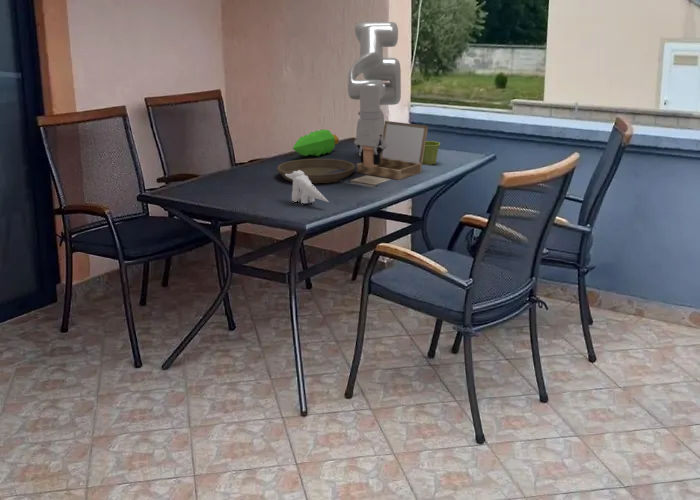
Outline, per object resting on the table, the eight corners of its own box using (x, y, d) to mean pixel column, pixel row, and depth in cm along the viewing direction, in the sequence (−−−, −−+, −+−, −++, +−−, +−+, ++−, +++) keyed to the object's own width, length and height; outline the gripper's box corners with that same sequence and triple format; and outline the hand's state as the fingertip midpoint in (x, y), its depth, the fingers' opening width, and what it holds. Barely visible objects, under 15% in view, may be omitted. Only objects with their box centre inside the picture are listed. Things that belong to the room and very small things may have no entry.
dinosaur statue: (292, 193, 320) (293, 164, 315) (336, 212, 304) (337, 181, 299) (277, 197, 315) (278, 167, 311) (321, 216, 299) (322, 185, 295)
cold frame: (356, 175, 349) (356, 163, 348) (379, 168, 360) (379, 157, 359) (399, 182, 337) (399, 170, 335) (421, 174, 348) (421, 163, 347)
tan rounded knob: (359, 166, 335) (358, 145, 332) (368, 163, 339) (368, 143, 337) (371, 168, 331) (371, 147, 329) (381, 165, 336) (381, 144, 333)
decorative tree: (339, 123, 391) (297, 131, 367) (347, 148, 392) (306, 158, 368) (320, 131, 398) (278, 139, 374) (328, 155, 399) (286, 165, 375)
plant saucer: (319, 164, 370) (318, 154, 368) (371, 176, 349) (371, 164, 347) (261, 177, 349) (261, 166, 348) (313, 190, 328) (313, 178, 327)
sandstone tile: (350, 182, 337) (350, 180, 337) (366, 177, 345) (366, 175, 344) (375, 187, 330) (375, 184, 330) (390, 181, 338) (390, 179, 337)
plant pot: (439, 161, 371) (440, 141, 368) (439, 166, 362) (440, 145, 359) (417, 161, 372) (417, 141, 369) (417, 166, 363) (417, 145, 360)
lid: (385, 120, 357) (386, 121, 358) (379, 156, 359) (380, 157, 360) (427, 125, 345) (428, 126, 346) (421, 163, 347) (422, 163, 347)
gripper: (346, 115, 332) (346, 162, 337) (382, 119, 322) (382, 167, 327) (358, 112, 337) (358, 158, 343) (394, 116, 327) (394, 164, 333)
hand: (370, 162), depth 335 cm, fingers closed on tan rounded knob, 5 cm apart
